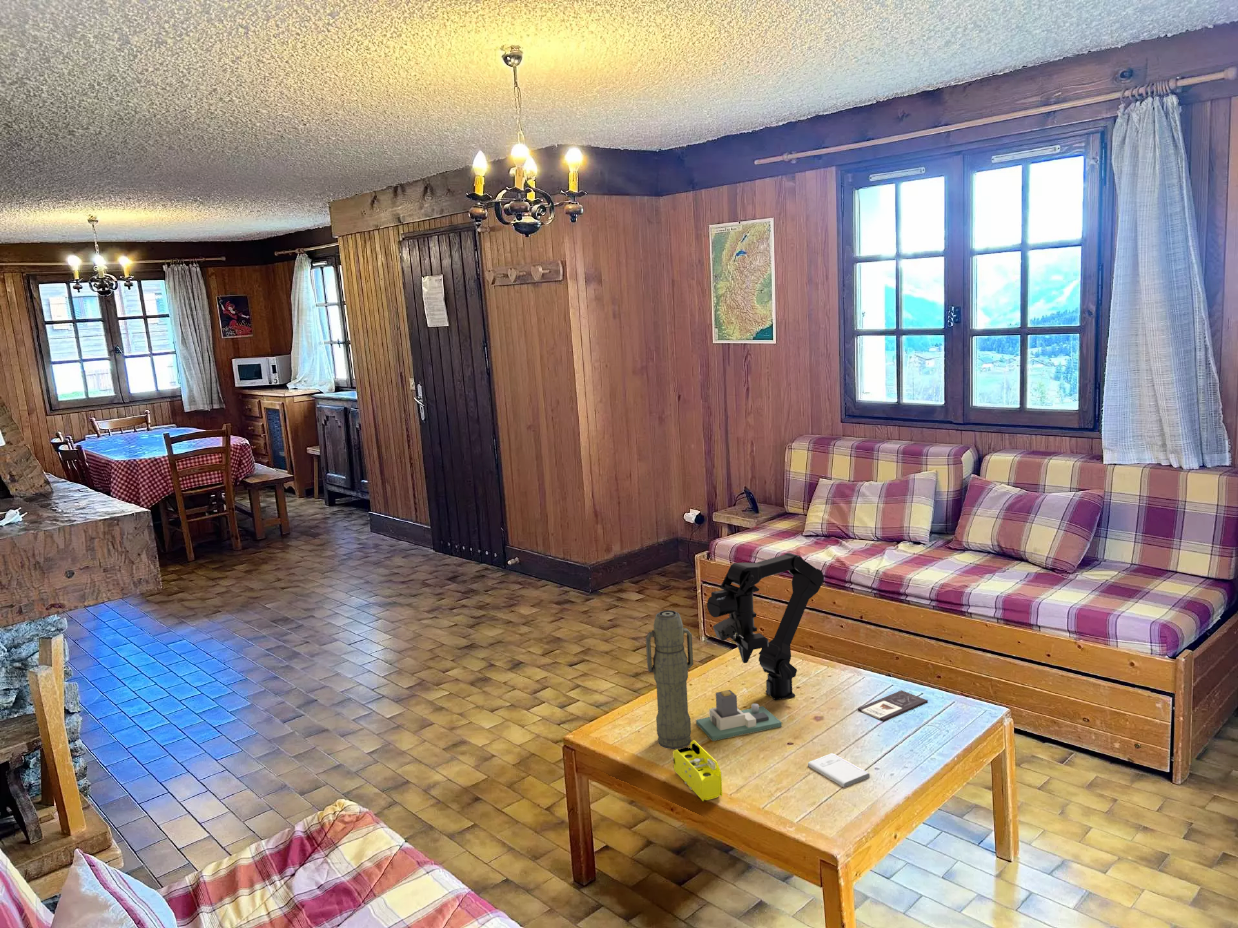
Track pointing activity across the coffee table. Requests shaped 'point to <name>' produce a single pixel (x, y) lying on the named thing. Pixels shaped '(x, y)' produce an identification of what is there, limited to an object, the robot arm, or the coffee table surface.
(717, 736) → the board
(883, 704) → the chocolate bar
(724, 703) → the plug
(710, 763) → the yellow toy chassis
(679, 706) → the thermos
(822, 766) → the external hard drive
